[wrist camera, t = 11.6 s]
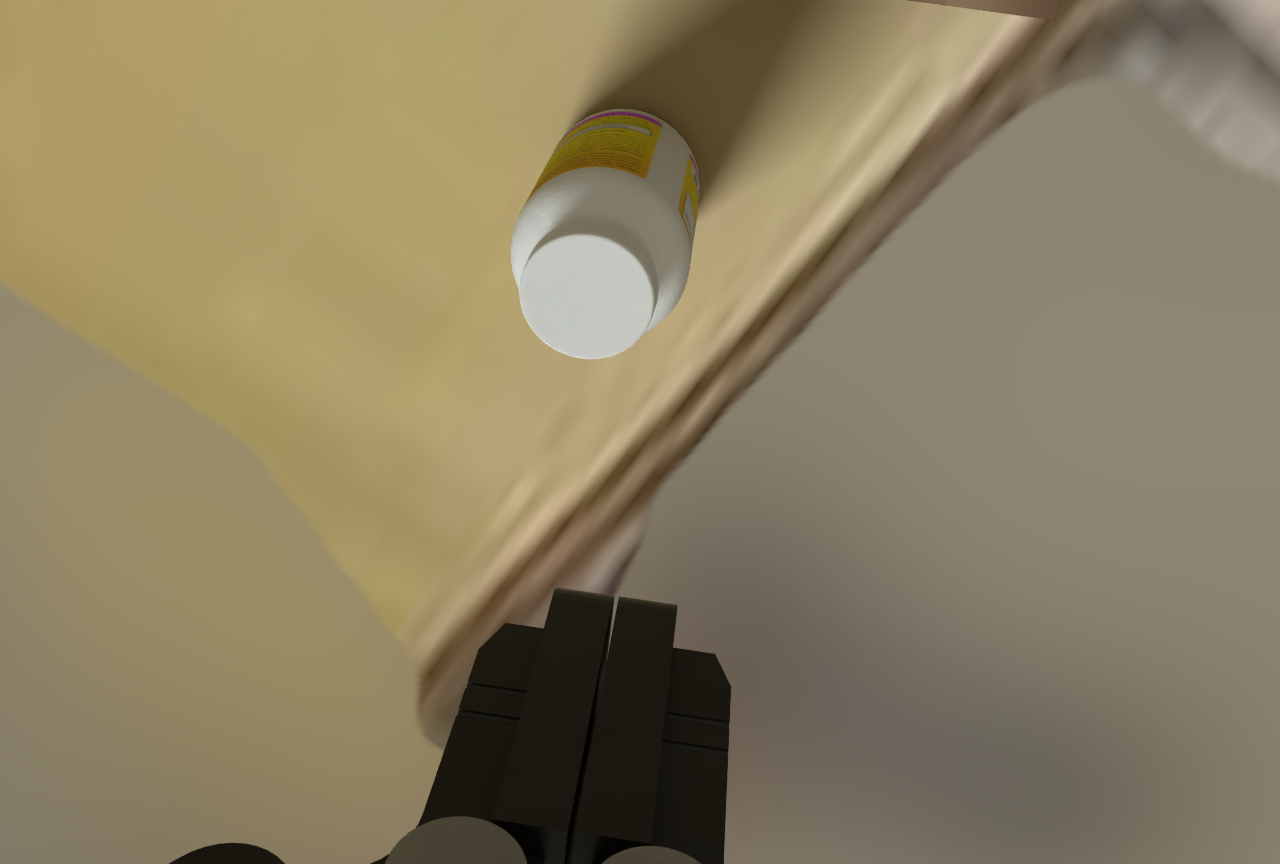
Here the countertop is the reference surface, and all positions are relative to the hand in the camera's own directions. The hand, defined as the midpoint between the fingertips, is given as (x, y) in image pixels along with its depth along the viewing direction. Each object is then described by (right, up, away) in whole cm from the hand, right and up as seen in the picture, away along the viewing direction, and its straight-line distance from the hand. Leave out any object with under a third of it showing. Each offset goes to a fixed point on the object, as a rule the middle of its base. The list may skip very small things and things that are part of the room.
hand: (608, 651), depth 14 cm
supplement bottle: (0, +14, +35) cm, 38 cm away
